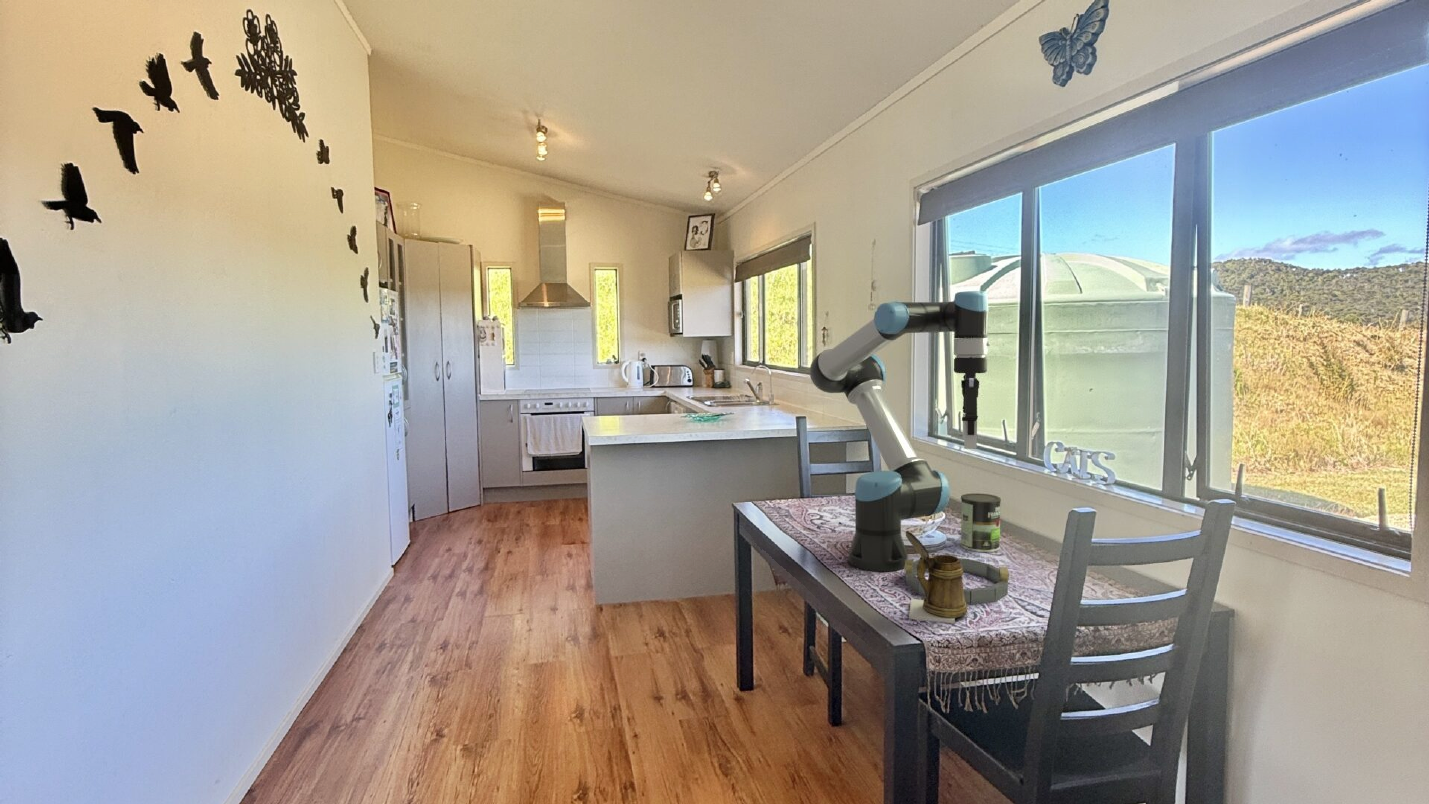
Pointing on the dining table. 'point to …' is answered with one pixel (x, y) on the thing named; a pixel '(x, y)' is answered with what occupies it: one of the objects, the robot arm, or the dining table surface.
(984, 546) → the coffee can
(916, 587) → the collar
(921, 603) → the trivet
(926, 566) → the wooden mug
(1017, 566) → the dining table surface
